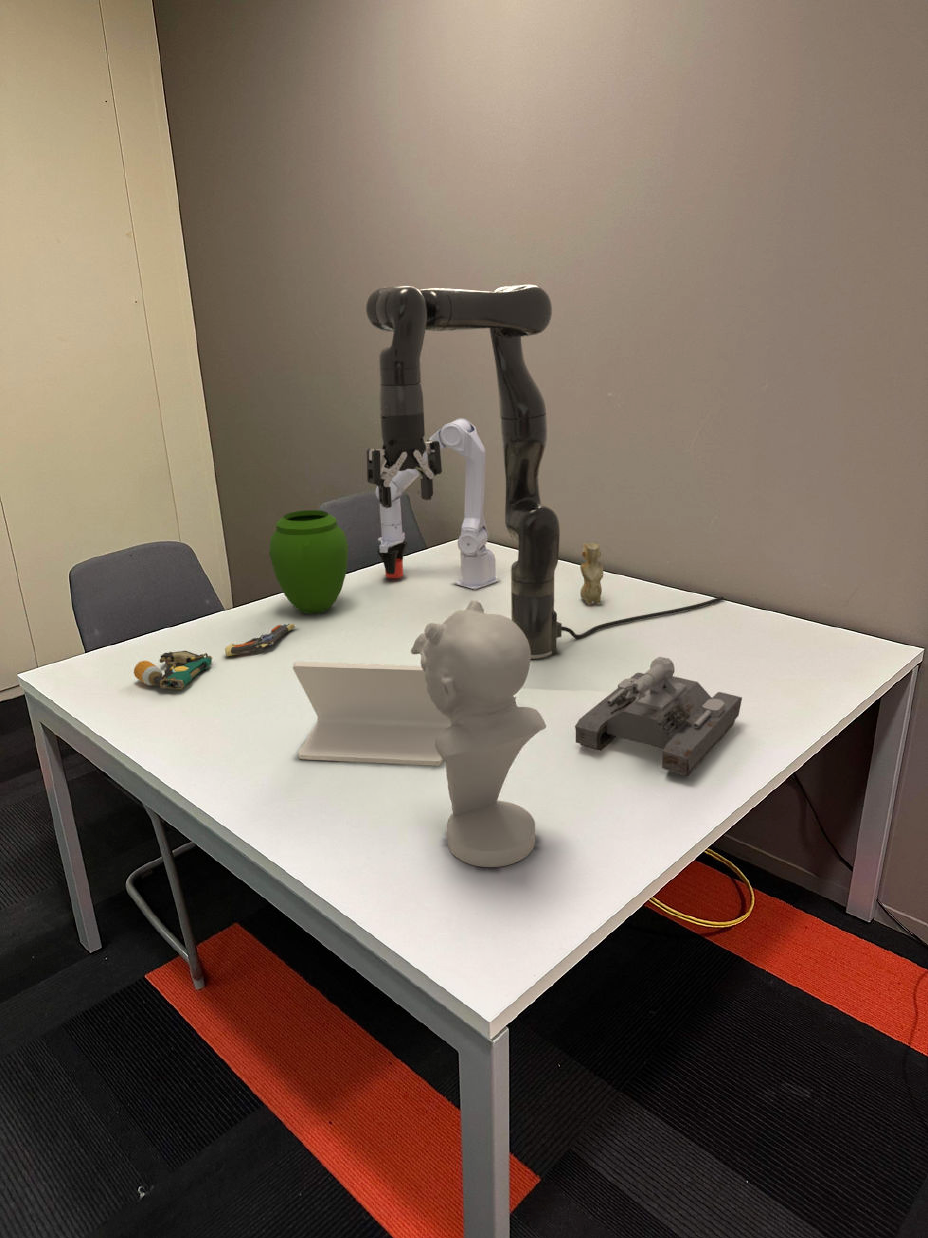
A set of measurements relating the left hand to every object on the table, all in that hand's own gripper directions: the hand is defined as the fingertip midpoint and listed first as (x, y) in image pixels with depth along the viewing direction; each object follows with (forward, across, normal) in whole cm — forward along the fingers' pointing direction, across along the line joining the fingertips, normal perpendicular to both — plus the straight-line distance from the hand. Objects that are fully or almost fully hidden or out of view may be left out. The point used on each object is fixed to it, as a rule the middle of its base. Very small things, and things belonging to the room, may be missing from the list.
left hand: (394, 570), depth 239 cm
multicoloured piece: (+2, +72, -22) cm, 76 cm away
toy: (+3, +76, +78) cm, 109 cm away
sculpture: (+3, +9, +56) cm, 57 cm away
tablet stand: (+2, +88, +30) cm, 93 cm away
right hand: (-37, +72, +32) cm, 87 cm away
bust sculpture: (+3, +112, +54) cm, 124 cm away
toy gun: (+2, +52, -14) cm, 54 cm away
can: (+1, 0, 0) cm, 1 cm away
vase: (+2, +28, -11) cm, 30 cm away
